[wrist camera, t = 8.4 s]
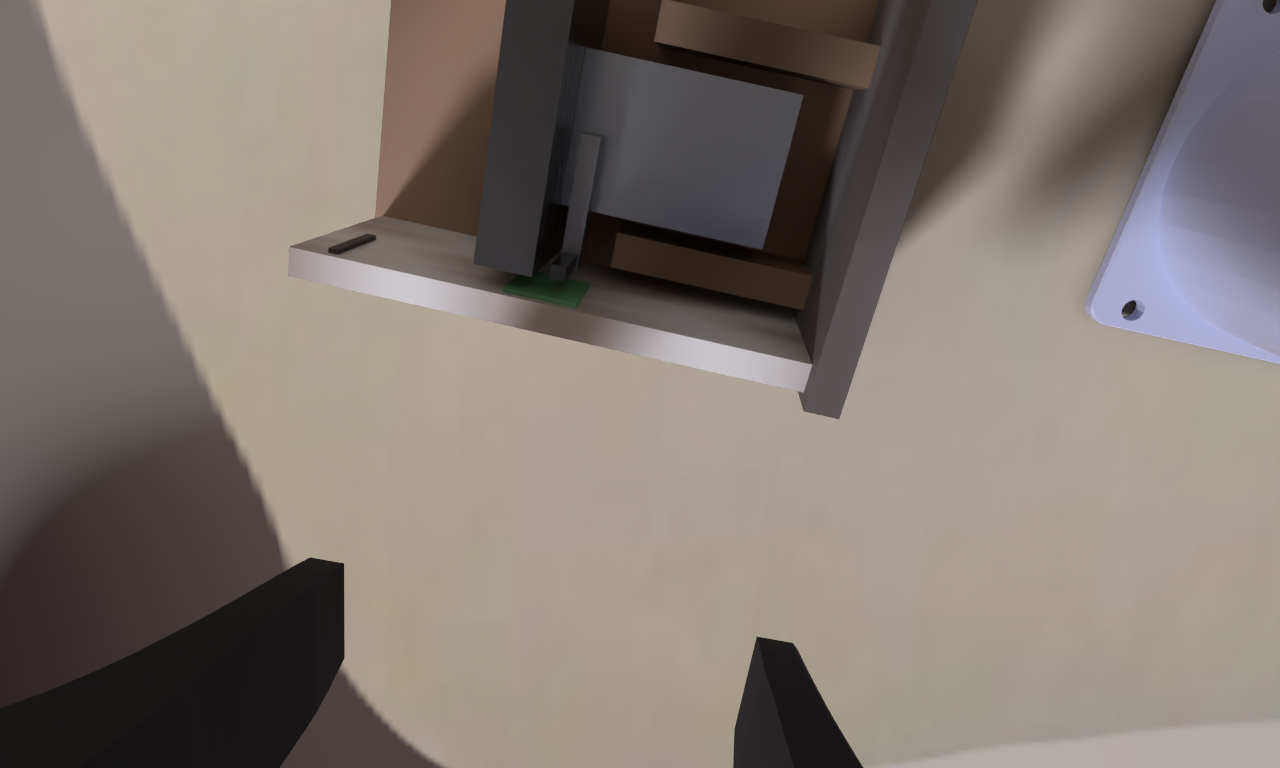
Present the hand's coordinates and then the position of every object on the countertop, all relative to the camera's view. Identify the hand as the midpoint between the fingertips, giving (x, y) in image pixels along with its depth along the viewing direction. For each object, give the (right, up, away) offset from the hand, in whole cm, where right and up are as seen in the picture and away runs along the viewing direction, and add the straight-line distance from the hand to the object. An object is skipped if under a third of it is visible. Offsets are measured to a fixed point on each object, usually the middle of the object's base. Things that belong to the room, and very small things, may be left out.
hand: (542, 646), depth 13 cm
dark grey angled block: (+2, +10, +5) cm, 11 cm away
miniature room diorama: (+1, +11, +6) cm, 12 cm away
